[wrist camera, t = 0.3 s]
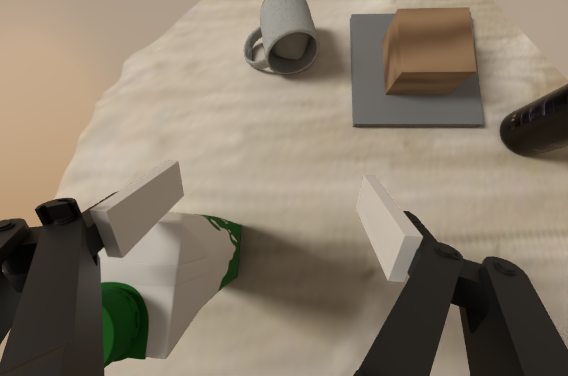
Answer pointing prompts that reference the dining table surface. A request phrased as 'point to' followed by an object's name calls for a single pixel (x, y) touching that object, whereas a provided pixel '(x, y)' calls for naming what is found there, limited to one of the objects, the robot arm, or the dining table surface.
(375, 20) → the mat
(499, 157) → the dining table surface
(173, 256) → the milk carton
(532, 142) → the supplement bottle
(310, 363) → the dining table surface
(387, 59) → the walnut block
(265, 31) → the ceramic mug
